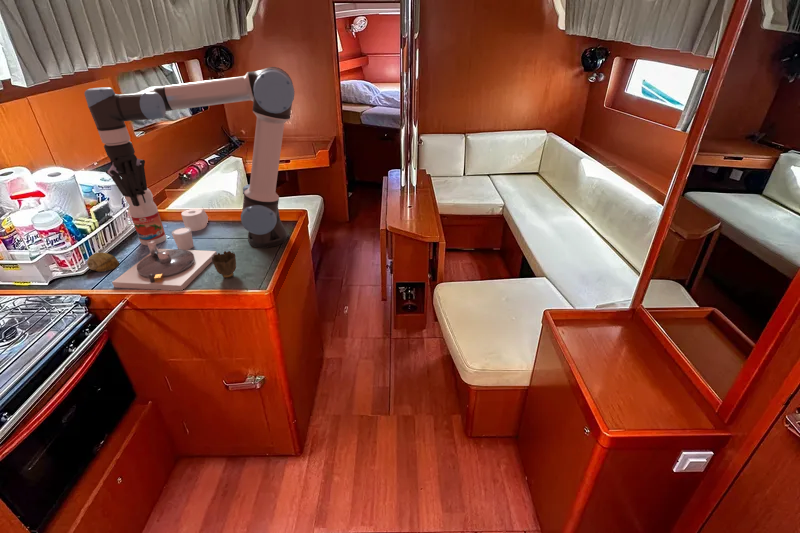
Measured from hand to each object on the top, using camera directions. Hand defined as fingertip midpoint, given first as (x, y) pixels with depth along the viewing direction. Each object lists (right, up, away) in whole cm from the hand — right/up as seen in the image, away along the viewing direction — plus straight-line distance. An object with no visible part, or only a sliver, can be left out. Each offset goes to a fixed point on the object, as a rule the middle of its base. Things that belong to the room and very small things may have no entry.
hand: (143, 213), depth 141 cm
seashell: (-20, -18, +11) cm, 29 cm away
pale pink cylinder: (+2, -10, +24) cm, 26 cm away
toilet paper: (-1, 0, +42) cm, 42 cm away
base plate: (+4, -19, +8) cm, 21 cm away
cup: (+27, -21, +4) cm, 34 cm away
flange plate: (+4, -18, +6) cm, 19 cm away
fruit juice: (-13, -8, +29) cm, 33 cm away
